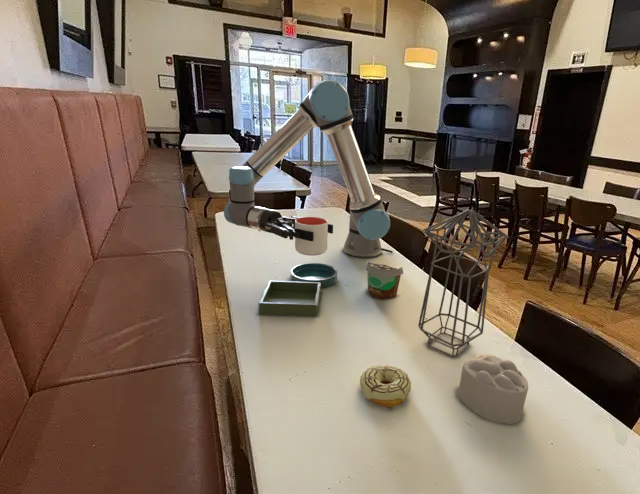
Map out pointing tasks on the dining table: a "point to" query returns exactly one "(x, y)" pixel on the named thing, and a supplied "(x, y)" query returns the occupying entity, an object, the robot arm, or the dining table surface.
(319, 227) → the cup
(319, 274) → the dish
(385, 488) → the dining table surface
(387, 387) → the decorated donut
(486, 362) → the lumpy-topped squat cylinder
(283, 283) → the tray
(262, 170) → the robot arm
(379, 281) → the food container
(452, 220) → the geometric lantern
